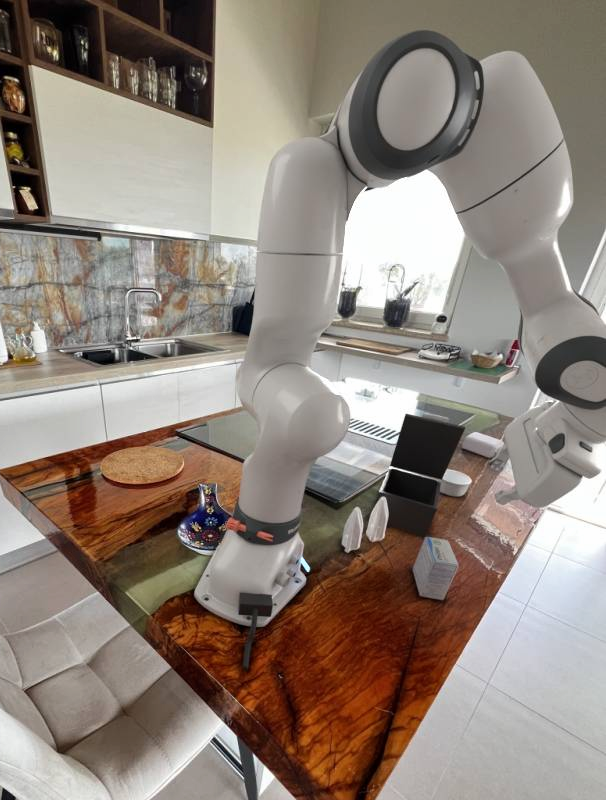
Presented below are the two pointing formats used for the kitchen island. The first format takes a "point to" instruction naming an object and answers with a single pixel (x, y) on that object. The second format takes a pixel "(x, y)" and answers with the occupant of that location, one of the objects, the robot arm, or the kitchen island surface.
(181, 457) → the kitchen island surface
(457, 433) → the black box lid
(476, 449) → the white bottle
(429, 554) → the medicine box
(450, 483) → the ramekin
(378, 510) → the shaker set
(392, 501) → the black open box
